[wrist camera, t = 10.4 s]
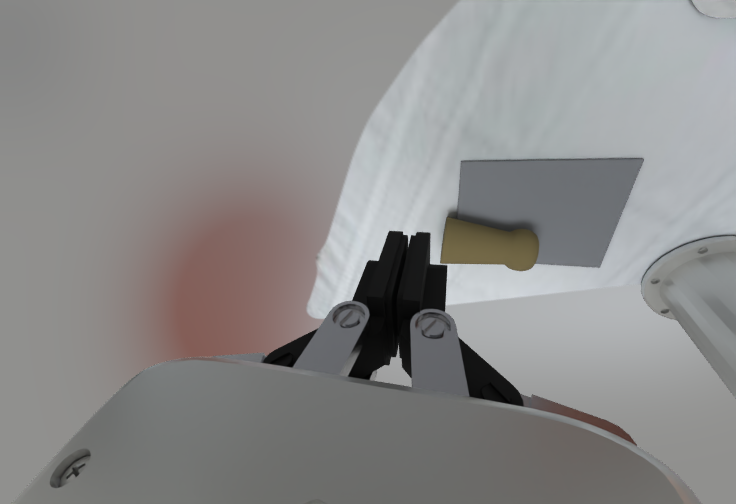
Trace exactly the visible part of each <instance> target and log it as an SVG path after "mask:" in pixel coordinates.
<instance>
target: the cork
mask: <svg viewBox="0 0 736 504" xmlns="http://www.w3.org/2000/svg"><path fill="white" fill-rule="evenodd" d="M538 254H539V239H538V237H537V235H536V234H535V233H534V232H532V231H530V230H528V229H515V230H513V231H511V232H508V231H504V230H499V229H495V228H491V227H487V226H483V225H479V224H475V223H470V222H466V221H462V220H458V219H454V218H450V217H447V219H446V224H445V229H444V236H443V243H442V250H441V260H440V263H445V264H505V265H506V266H507V267H508V268H510V269H512V270H517V271H526V270H529V269H531V268H532V267H533V266H534V264H535V263H536V260H537V258H538Z"/></svg>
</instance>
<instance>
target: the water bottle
mask: <svg viewBox="0 0 736 504" xmlns="http://www.w3.org/2000/svg"><path fill="white" fill-rule="evenodd" d="M692 2H693V4H694V5H695V7H696V8H697V9H698V10H699V11H700V12H701V13H703V14H705V15H707V16H710V17H714V18H736V0H692Z"/></svg>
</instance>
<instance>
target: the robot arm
mask: <svg viewBox="0 0 736 504" xmlns="http://www.w3.org/2000/svg"><path fill="white" fill-rule="evenodd" d="M446 283H447V265H433V264H430V233H425V232H417V233H416V236H413V235H411V239H410V243H409V247H408V236H407V235H403V232H400V231H389V233H388V236H387V238H386V241H385V244H384V247H383V250H382V253H381V256H380V258H379V261H371V260H369V261H368V262H367V264H366V267H365V269H364V272H363V274H362V277H361V280H360V282H359V285H358V287H357V290H356V292H355V295H354V297H353V300H352V301H346V302H343V303H340V304H338V305H336V306H335V307H334V308H333V309H332V310H331V311H330V312H329V314H328V315H327V317H326V318H325V320H324V321H323V323H322V324H321V326H320V327H319V328H318V329H316V330H314V331H312V332H310V333H308V334H306V335H304V336H302V337H300V338H298V339H296V340H294V341H292V342H290V343H288V344H286V345H284V346H282V347H280V348H278V349H276V350H274V351H273V352H271V353H270V354H269V355H268V356H265V354H264V353H253V354H238V355H223V356H213V357H191V358H181V359H177V360H171V361H166V362H163V363H160V364H157V365H154V366H151V367H149V368H147V369H146V370H143V371H142V372H140V373H139V374H137V375H136V376H135V377H133V378H132V379H131V380H129V381H128V382H127V383H126V384H125V385H124V386H123V387H121V388H120V389H119V390H118V391H117V392H116V393H115V394H114V395H113V396H112V397H111V398H110V399H109V400H108V401H107V402H106V403H105V404H104V405H103V406H102V407H101V408H100V409H99V410H98V411H97V412H96V413H95V414H94V415H93V416H92V417H91V418H90V419H89V420H88V421H87V422H86V423H85V424H84V425H83V427H81V428H80V429H79V430H78V432H77V433H76V434H75V435H74V436H73V437H72V438H71V439H70V440H69V441H68V442H67V443H66V444H65V445H64V446H63V447H62V448H61V450H60V451H59V452H58V453H57V454H56V455H55V456H54V457H53V458H52V459H51V461H50V462H49V463H48V464H47V465H46V466H45V467H44V468H43V469H42V470H41V472H39V474H38V475H37V476H36V477H35V478H34V479H33V480H32V481H31V483H29V485H28V486H27V487H26V488H25V489H24V490H23V491H22V492H21V493H20V494H19V496H18V497H17V498H16V499H15V500H14V501H13V502H12V503H11V504H702V503H701V502H700V500H699V499H698V498H697V497H696V495H695V494H694V492H693V491H692V490H691V489H690V488H689V486H687V484H686V483H685V482H684V481H683V480H682V479H681V478H680V477H679V476H678V475H677V474H676V473H675V472H674V471H673V470H671V469H670V468H669V467H668V466H666V465H665V464H664V463H663V462H661V461H660V460H658V459H657V458H655V457H654V456H652V455H651V454H649V453H648V452H646V451H644V450H643V449H641V448H639V447H637V444H636V443H635V442H634V441H633V439H632V438H631V436H630V435H629V434H627V433H626V432H625V431H624V430H623V429H621V428H620V427H619V426H617V425H615V424H613V423H611V422H609V421H607V420H604V419H601V418H598V417H595V416H593V415H590V414H587V413H584V412H581V411H578V410H576V409H573V408H570V407H567V406H564V405H561V404H558V403H555V402H553V401H550V400H547V399H544V398H541V397H538V396H535V395H532V396H531V397H528V396H524V395H522V394H520V393H519V392H518V390H517V389H516V388H515V387H514V386H513V385H512V384H511V383H510V382H509V381H507V380H506V379H505V378H504V377H503V376H502V375H500V374H499V373H498V372H497V371H496V370H495V369H494V368H492V366H490V365H489V364H488V363H487V362H486V361H485V360H484V359H482V358H481V357H480V356H479V355H478V354H477V353H476V352H475V351H473V350H472V349H471V348H470V347H469V346H468V345H467V344H465V343H464V342H463V341H462V340H461V339H460V338H459V337H458V334H457V328H456V324H455V322H454V319H453V318H452V317H451V316H450V315H449V314H447V313H445V302H446ZM641 293H642V296H643V299H644V300H645V301H646V303H647V304H648V306H649V307H650V308H651V309H652V310H653V311H655V312H656V313H658V314H659V315H662V316H664V317H667V318H670V319H675V320H677V321H678V322H679V323H680V325H681V326H682V328H683V329H684V330H685V332H686V333H687V334H688V335H689V337H690V338H691V340H692V341H693V342H694V343H695V345H696V346H697V348H698V349H699V350H700V352H701V353H702V354H703V355H704V357H705V358H706V360H707V361H708V362H709V363H710V365H711V366H712V368H713V369H714V370H715V372H716V373H717V374H718V376H719V377H720V378H721V380H722V381H723V382H724V384H725V385H726V386H727V388H728V389H729V390H730V392H731V393H732V394H733V396H734V397H735V398H736V236H722V237H713V238H708V239H703V240H699V241H696V242H693V243H689V244H686V245H684V246H682V247H680V248H677V249H675V250H673V251H671V252H670V253H668V254H666V255H665V256H663V257H662V258H661V259H659V260H658V261H657V262H656V263H654V264H653V265H652V267H651V268H650V269H649V270H648V271H647V273H646V274H645V276H644V278H643V281H642V284H641ZM398 345H399V353H400V358H402V367H403V369H404V370H405V371H406V372H407V374H408V375H409V376H410V377H411V378H412V387H408V386H401V385H396V384H390V383H383V382H377V381H374V380H375V378H376V374H377V369H379V368H380V367H382V366H384V365H389V364H390V359H391V357H396V355H397V350H398Z"/></svg>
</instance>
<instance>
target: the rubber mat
mask: <svg viewBox="0 0 736 504" xmlns="http://www.w3.org/2000/svg"><path fill="white" fill-rule="evenodd" d="M643 161H644V159H643V158H624V159H559V160H493V161H461V173H460V186H459V199H458V212H457V219H458V220H462V221H466V222H470V223H475V224H479V225H483V226H487V227H491V228H495V229H499V230H504V231H508V232H511V231H513V230H515V229H528V230H530V231H532V232H534V233H535V234H536V235H537V237H538V239H539V254H538V258H537V260H536V263H535V264H548V265H565V266H581V267H598V268H600V265H601V263H602V260H603V258H604V256H605V253H606V251H607V248H608V246H609V243H610V241H611V239H612V236H613V234H614V231H615V229H616V226H617V224H618V222H619V219H620V217H621V214H622V212H623V209H624V207H625V205H626V202H627V200H628V197H629V195H630V192H631V190H632V188H633V185H634V183H635V180H636V178H637V175H638V173H639V171H640V168H641V166H642V163H643Z"/></svg>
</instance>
